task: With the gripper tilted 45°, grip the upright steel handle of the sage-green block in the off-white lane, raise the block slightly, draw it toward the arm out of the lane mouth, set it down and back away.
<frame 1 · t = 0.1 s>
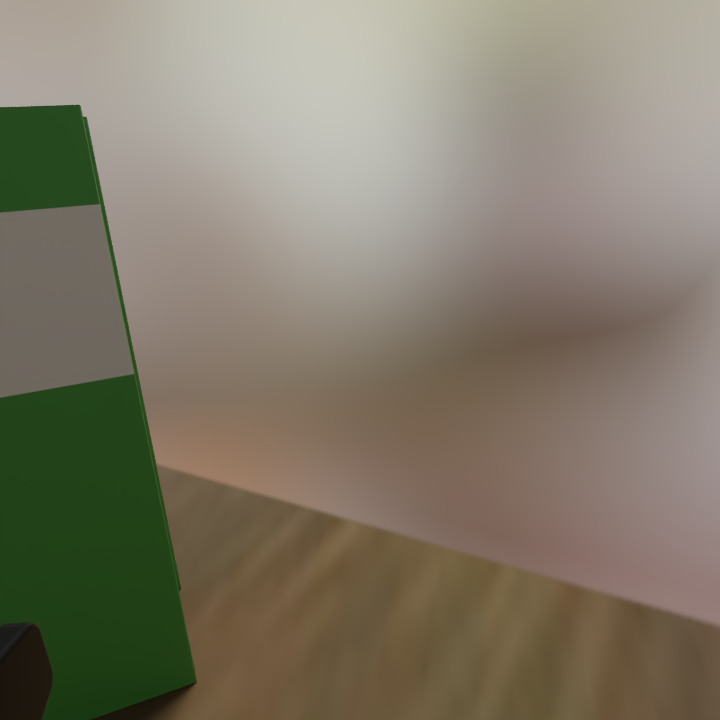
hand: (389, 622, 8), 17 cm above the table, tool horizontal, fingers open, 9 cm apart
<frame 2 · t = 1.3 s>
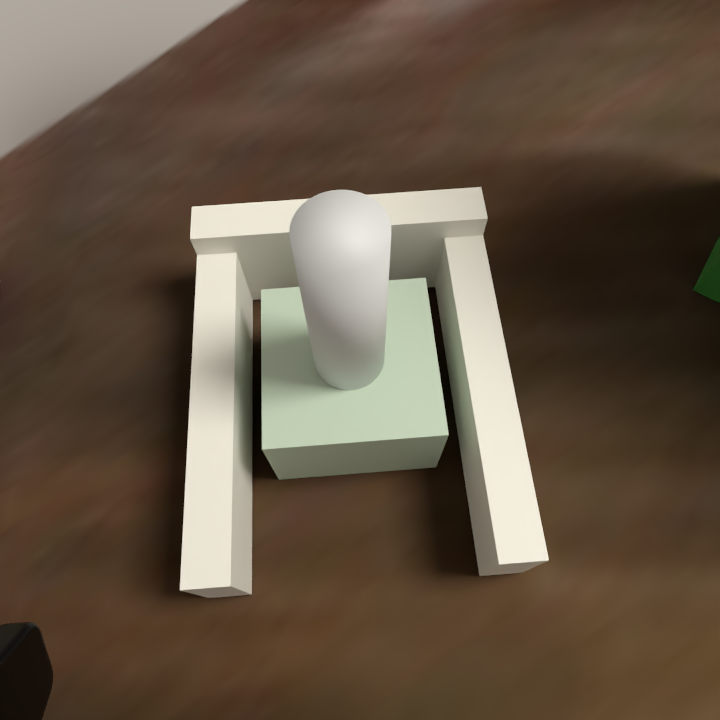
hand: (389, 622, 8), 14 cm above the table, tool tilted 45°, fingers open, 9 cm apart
handle block: (352, 400, 24), resting in lane
lane: (353, 423, 23), on the table
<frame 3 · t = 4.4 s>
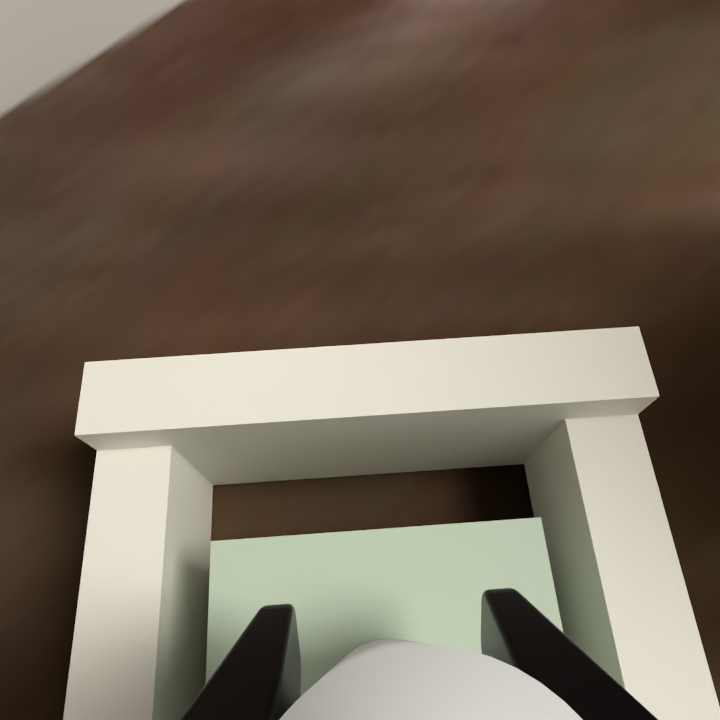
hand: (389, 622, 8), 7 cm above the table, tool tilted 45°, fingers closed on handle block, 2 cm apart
handle block: (385, 697, 13), resting in lane, touching gripper
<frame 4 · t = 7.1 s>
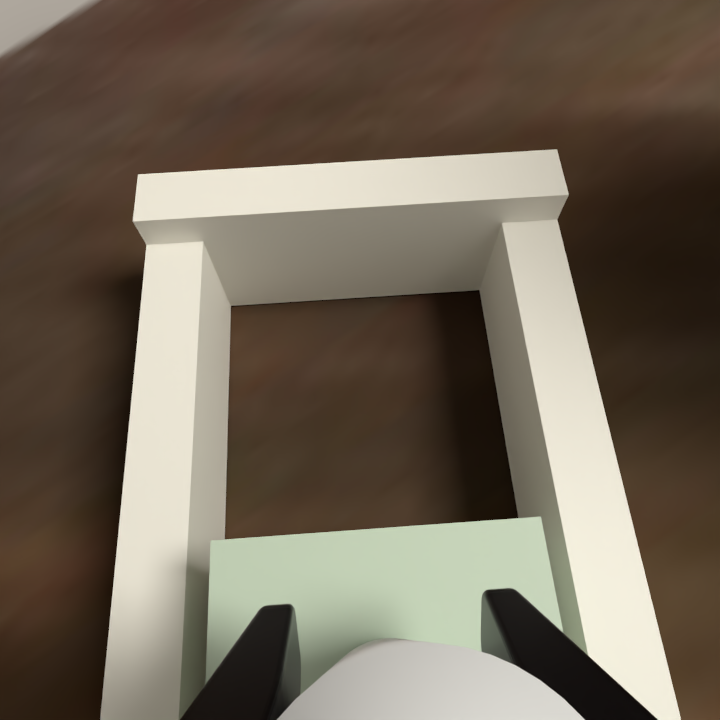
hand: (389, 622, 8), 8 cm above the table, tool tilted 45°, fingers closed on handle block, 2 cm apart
handle block: (385, 697, 13), point 2 cm above the table, touching gripper
lane: (368, 484, 17), on the table
when the fingers open (7 cm above the table, at t = 10.1 s): handle block stays where it is, on the table.
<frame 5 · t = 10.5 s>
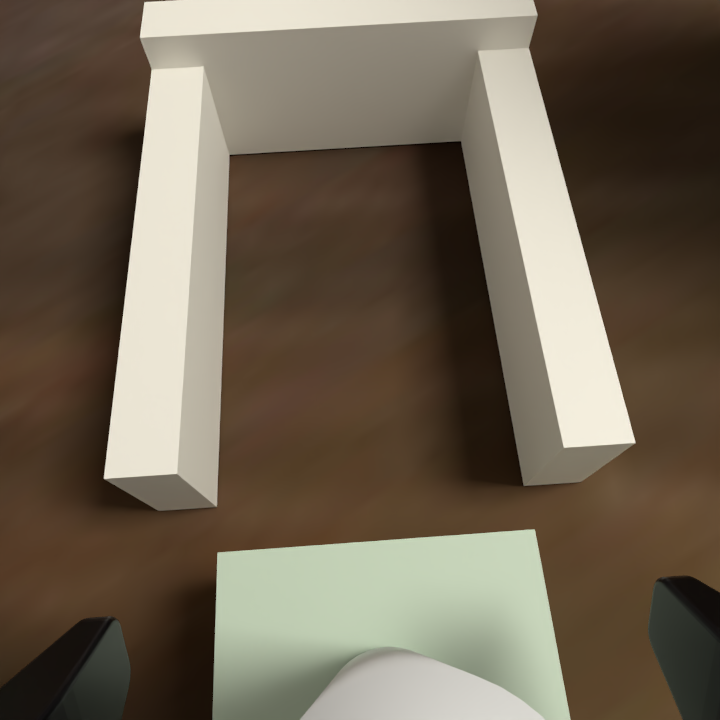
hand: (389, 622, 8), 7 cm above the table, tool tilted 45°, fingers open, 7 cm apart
handle block: (385, 701, 14), on the table
lane: (356, 297, 18), on the table
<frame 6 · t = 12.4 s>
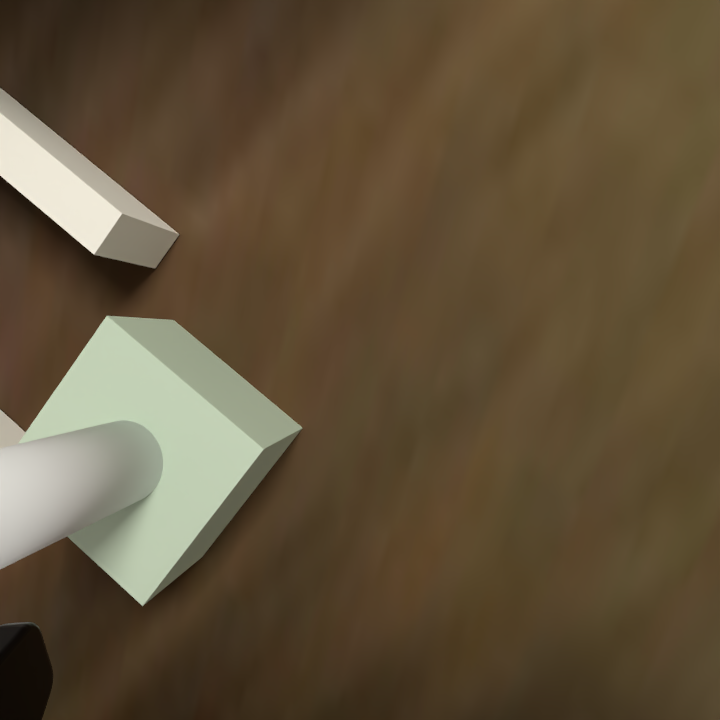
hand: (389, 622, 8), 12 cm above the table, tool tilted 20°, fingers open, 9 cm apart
handle block: (188, 438, 21), on the table
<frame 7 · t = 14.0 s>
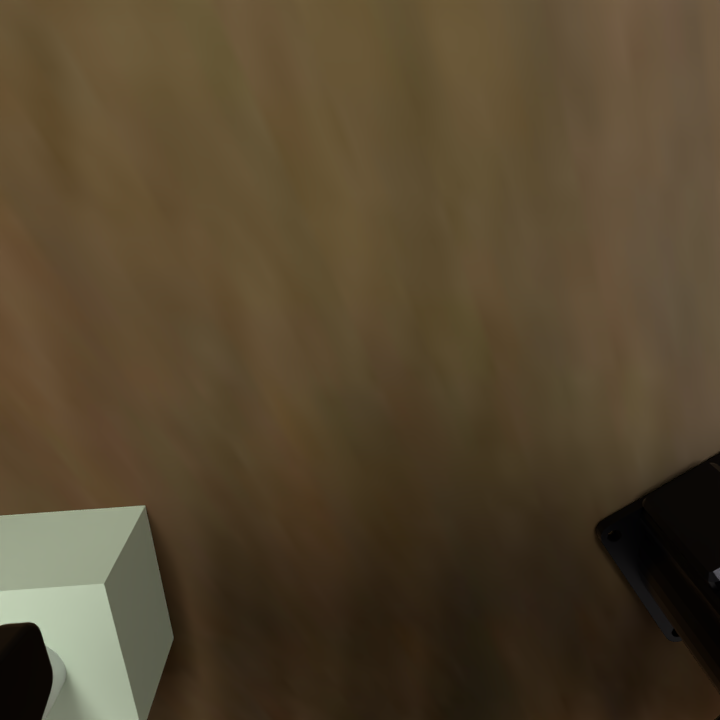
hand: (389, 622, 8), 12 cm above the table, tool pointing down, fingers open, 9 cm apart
handle block: (79, 579, 22), on the table
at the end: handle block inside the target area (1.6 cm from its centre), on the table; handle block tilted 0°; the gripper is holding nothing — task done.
